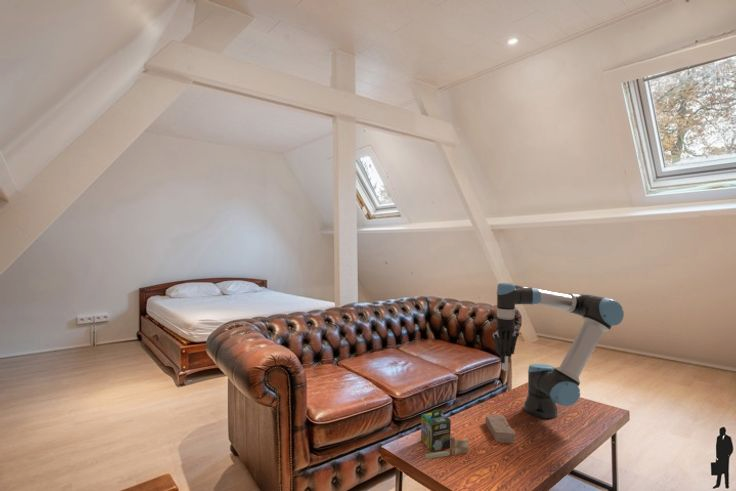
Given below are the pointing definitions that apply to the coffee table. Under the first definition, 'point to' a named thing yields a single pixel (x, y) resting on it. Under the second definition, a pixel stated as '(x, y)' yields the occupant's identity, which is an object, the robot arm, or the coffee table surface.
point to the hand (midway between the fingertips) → (504, 369)
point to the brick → (500, 428)
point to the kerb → (437, 454)
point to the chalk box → (435, 430)
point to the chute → (459, 446)
